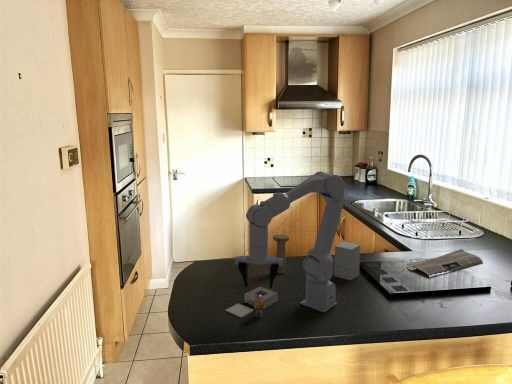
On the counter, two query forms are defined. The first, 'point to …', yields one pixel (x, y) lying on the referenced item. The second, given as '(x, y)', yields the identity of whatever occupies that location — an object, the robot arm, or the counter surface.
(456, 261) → the newspaper
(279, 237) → the handle
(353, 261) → the supplement box
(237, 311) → the mat
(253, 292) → the block
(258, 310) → the amber medicine bottle
